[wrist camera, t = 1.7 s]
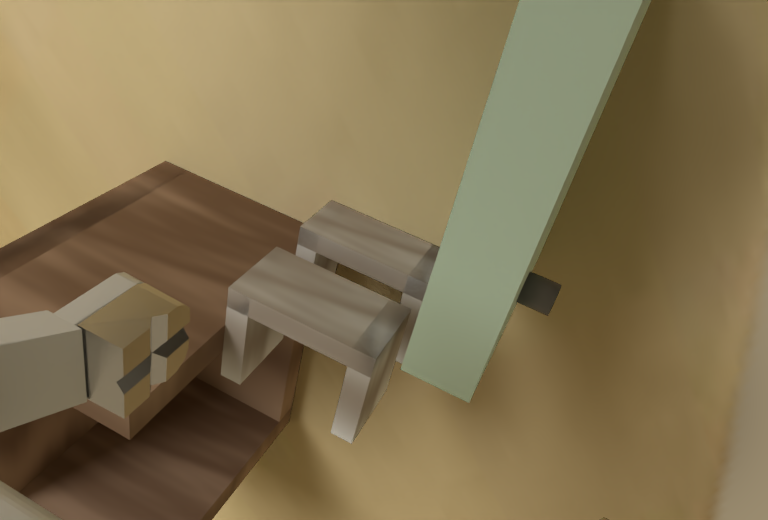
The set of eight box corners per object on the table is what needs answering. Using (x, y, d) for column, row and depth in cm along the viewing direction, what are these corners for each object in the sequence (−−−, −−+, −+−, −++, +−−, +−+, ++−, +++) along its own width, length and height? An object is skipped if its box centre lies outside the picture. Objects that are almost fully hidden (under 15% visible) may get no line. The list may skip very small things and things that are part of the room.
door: (601, -75, 22) (532, -42, 14) (711, -42, 21) (702, 12, 13) (486, 236, 30) (400, 369, 22) (563, 269, 29) (503, 420, 21)
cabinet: (165, 127, 34) (-96, 250, 23) (451, 252, 31) (299, 467, 20) (162, 354, 44) (-22, 514, 33) (378, 469, 41) (250, 691, 30)
